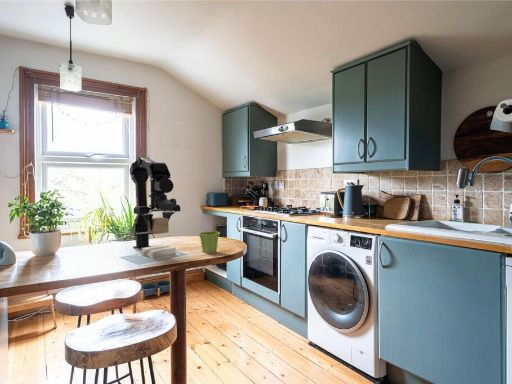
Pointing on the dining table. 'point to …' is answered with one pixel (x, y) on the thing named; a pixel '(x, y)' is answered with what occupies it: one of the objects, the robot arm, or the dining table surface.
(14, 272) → the dining table surface
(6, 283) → the dining table surface
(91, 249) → the dining table surface
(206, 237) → the plant pot
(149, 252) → the plinth
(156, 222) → the walnut cube
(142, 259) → the board
